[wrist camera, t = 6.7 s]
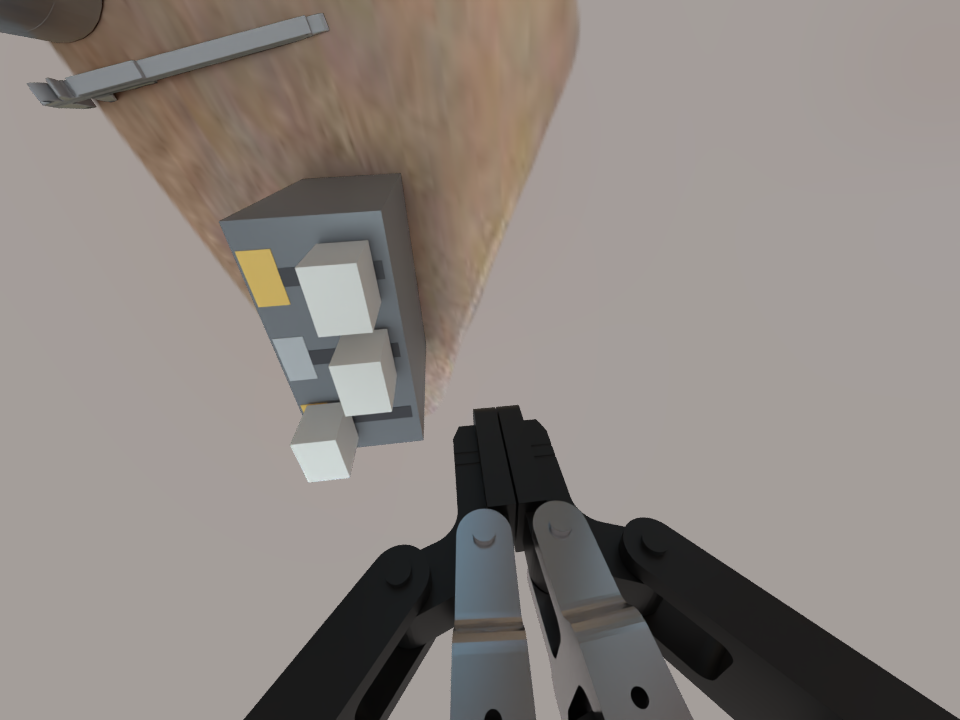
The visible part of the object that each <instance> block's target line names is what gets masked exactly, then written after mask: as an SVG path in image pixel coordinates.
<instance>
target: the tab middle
mask: <svg viewBox="0 0 960 720" xmlns="http://www.w3.org/2000/svg"><path fill="white" fill-rule="evenodd" d="M328 367H329V370H330V373H331V376H332V378H333V381H334V384H335V387H336V390H337V393H338V396H339V399H340V402H341V405H342V408H343V411H344V414H345V417H347V416H356V415H366V414H376V413H385V412H392V409H393V401H394V394H395V386H396V379H397V373H396V369H395V364H394V359H393V355H392V350H391V345H390V341H389V336H388V331H387V329H379V330H374V331H373V333H362V334H351V335H341V337H340V340H339V342H338V344H337V347H336V349H335V352H334V354H333V357H332V359H331V362H330V364H329V366H328Z"/></svg>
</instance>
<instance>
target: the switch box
mask: <svg viewBox="0 0 960 720" xmlns="http://www.w3.org/2000/svg"><path fill="white" fill-rule="evenodd" d="M219 223H220V226H221V228H222V230H223V233H224V235H225V237H226V239H227V242H228V244H229V246H230V249H231V251H232V253H233V256H234V258H235V260H236V263H237V265H238V267H239V270H240V272H241V274H242V276H243V279H244V281H245V283H246V286H247V288H248V290H249V293H250V295H251V297H252V300H253V302H254V304H255V307H256V309H257V311H258V314H259V316H260V318H261V320H262V323H263V325H264V327H265V330H266V332H267V334H268V336H269V339H270V341H271V344H272V346H273V348H274V351H275V353H276V355H277V358H278V360H279V362H280V364H281V367H282V369H283V371H284V374H285V376H286V378H287V381H288V383H289V385H290V387H291V390H292V392H293V395H294V397H295V399H296V402H297V404H298V406H299V408H300V411H301V413H302V415H303V414H304V411H305V409H306V407H307V406H308V405H318V404H328V403H338V402H340V399H339V396H338V393H337V390H336V387H335V384H334V381H333V378H332V376H331V373H330V370H329V367H328V366H329V364H330V362H331V359H332V357H333V354H334V352H335V349H336V347H337V344H338V342H339V340H340V337H341V335H339V336H328V337H318V335H317V332H316V329H315V326H314V323H313V320H312V317H311V314H310V311H309V308H308V305H307V302H306V299H305V297H304V294H303V291H302V288H301V285H300V282H299V279H298V276H297V273H296V270H295V267H296V266H297V265H298V263H299V262H300V261H301V260H302V259H303V258H304V257H305V256H306V255H307V253H308V252H309V251H310V250H311V249H312V248H313V247H314V246H315V244H321V243H335V242H348V241H362V240H368V242H369V247H370V252H371V256H372V261H373V266H374V270H375V275H376V280H377V284H378V289H379V294H380V298H381V305H380V309H379V312H378V316H377V320H376V324H375V327H374V330H379V329H387V331H388V336H389V341H390V345H391V350H392V355H393V359H394V364H395V369H396V373H397V379H396V386H395V394H394V401H393V409H392V412H385V413H376V414H366V415H356V416H352V419H353V422H354V425H355V428H356V431H357V434H358V437H359V439H358V444H357V447H366V446H375V445H384V444H393V443H402V442H412V441H421V440H423V438H424V401H425V362H426V341H425V334H424V328H423V321H422V314H421V307H420V301H419V294H418V287H417V280H416V273H415V267H414V260H413V253H412V246H411V240H410V233H409V226H408V219H407V213H406V206H405V199H404V192H403V185H402V179H401V173H395V174H378V175H361V176H345V177H328V178H311V179H302V180H300V181H298V182H296V183H294V184H292V185H290V186H288V187H286V188H284V189H282V190H280V191H278V192H276V193H274V194H272V195H270V196H268V197H266V198H264V199H262V200H260V201H258V202H256V203H254V204H252V205H250V206H248V207H246V208H244V209H242V210H240V211H238V212H236V213H234V214H232V215H230V216H228V217H226V218H224V219H222V220H220V221H219Z"/></svg>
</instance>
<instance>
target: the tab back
mask: <svg viewBox="0 0 960 720" xmlns="http://www.w3.org/2000/svg"><path fill="white" fill-rule="evenodd" d="M358 439H359V437H358V434H357V431H356V428H355V425H354V422H353V419H352V416H347V417H345V414H344V411H343V408H342V405H341V402H338V403H328V404H318V405H308V406H307V407H306V409H305V411H304V414H303V416H302V418H301V421H300V423H299V425H298V428H297V430H296V432H295V435H294V437H293V439H292V442H291V444H290V446H291V448H292V450H293V452H294V454H295V456H296V458H297V460H298V462H299V464H300V466H301V468H302V470H303V472H304V474H305V476H306V479H307V481H308V482H317V481H325V480H334V479H342V478H350V475H351V470H352V466H353V462H354V457H355V453H356V448H357V444H358Z"/></svg>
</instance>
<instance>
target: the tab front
mask: <svg viewBox="0 0 960 720" xmlns="http://www.w3.org/2000/svg"><path fill="white" fill-rule="evenodd" d="M295 270H296V273H297V276H298V279H299V282H300V285H301V288H302V291H303V294H304V297H305V299H306V302H307V305H308V308H309V311H310V314H311V317H312V320H313V323H314V326H315V329H316V332H317V335H318V337H328V336H339V335H351V334H362V333H373V331H374V327H375V324H376V320H377V316H378V312H379V309H380V305H381V298H380V294H379V289H378V284H377V280H376V275H375V270H374V266H373V261H372V256H371V252H370V247H369V242H368V240H362V241H348V242H335V243H321V244H315V246H314V247H313V248H312V249H311V250H310V251H309V252H308V253H307V255H306V256H305V257H304V258H303V259H302V260H301V261H300V262H299V263H298V265H297V266H296V267H295Z"/></svg>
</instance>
